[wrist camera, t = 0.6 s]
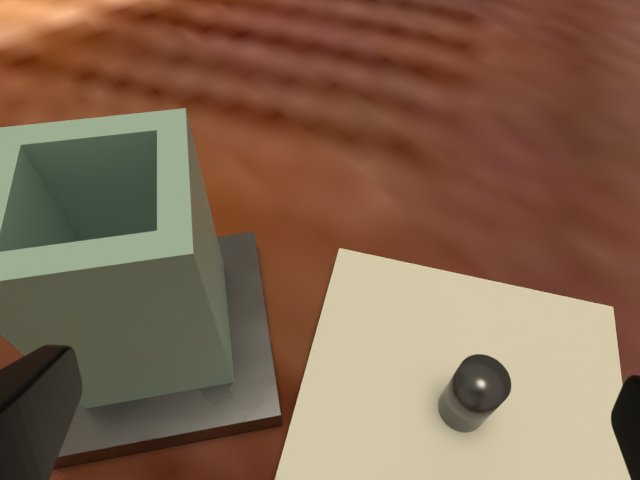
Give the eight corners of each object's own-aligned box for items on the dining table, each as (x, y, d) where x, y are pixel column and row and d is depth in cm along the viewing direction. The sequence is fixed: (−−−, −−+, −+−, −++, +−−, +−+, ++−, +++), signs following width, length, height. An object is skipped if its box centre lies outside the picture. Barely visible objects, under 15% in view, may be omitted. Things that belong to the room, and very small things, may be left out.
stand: (282, 425, 22) (277, 385, 18) (49, 469, 21) (-12, 437, 17) (256, 247, 28) (248, 188, 24) (72, 274, 27) (31, 215, 23)
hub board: (632, 661, 18) (726, 677, 14) (259, 549, 20) (247, 534, 16) (598, 320, 26) (652, 268, 22) (337, 263, 28) (343, 205, 24)
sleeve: (234, 382, 22) (193, 253, 14) (84, 408, 21) (-52, 288, 13) (223, 264, 26) (185, 108, 18) (95, 282, 25) (-6, 128, 17)
